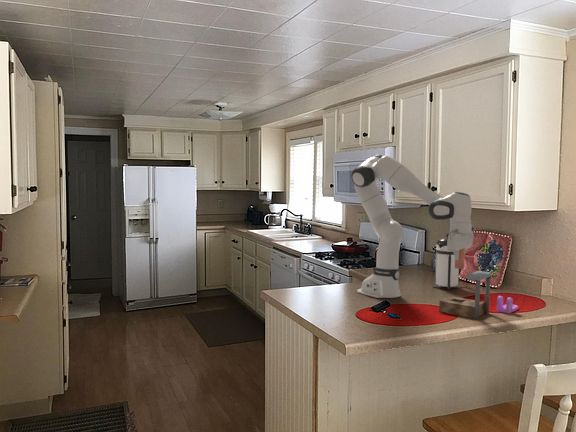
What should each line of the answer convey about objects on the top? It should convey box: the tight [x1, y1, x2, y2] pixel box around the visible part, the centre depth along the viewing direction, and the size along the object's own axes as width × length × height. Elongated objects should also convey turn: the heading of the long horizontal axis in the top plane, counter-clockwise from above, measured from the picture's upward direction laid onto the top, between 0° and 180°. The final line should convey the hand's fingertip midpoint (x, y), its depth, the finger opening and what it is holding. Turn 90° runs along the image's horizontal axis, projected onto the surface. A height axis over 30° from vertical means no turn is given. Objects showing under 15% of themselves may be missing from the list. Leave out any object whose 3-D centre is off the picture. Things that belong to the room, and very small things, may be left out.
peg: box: [455, 248, 465, 270], centre depth 226 cm, size 4×4×9 cm
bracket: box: [496, 295, 519, 314], centre depth 232 cm, size 13×6×7 cm, turn 136°
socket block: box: [438, 295, 485, 319], centre depth 227 cm, size 16×12×5 cm
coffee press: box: [432, 233, 462, 291], centre depth 278 cm, size 17×16×30 cm
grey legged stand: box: [465, 270, 492, 320], centre depth 222 cm, size 6×14×18 cm, turn 139°
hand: (459, 259), depth 226 cm, fingers closed on peg, 4 cm apart
